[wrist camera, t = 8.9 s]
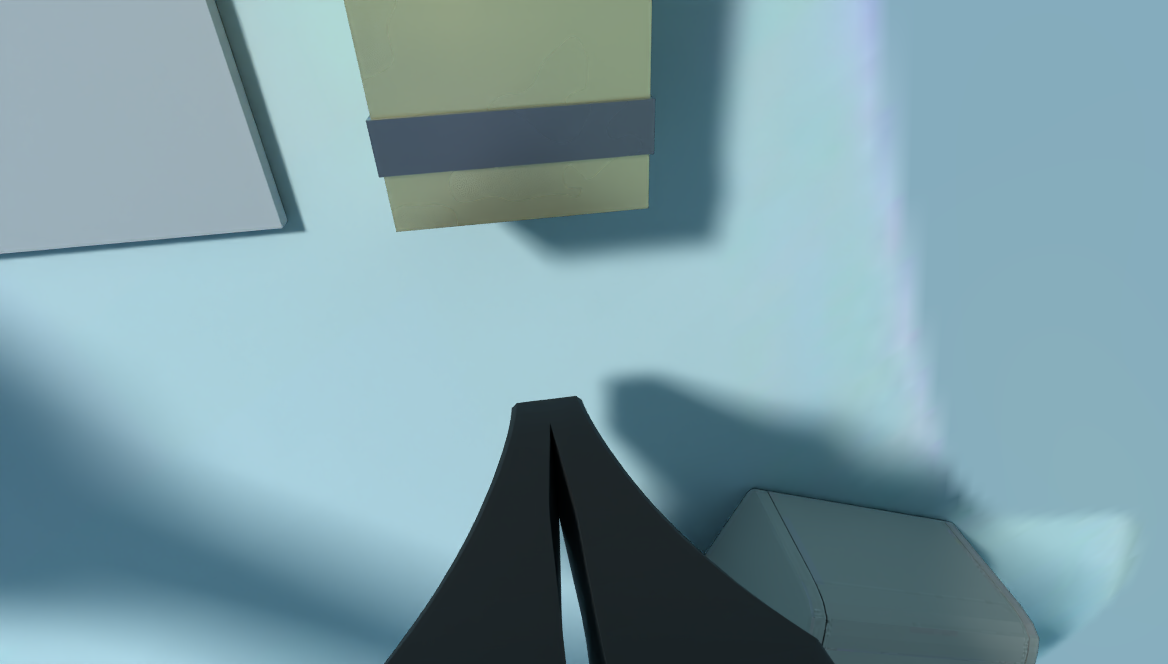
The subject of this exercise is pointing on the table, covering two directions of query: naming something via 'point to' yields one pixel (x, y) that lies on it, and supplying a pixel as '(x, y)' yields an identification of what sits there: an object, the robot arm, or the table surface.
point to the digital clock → (873, 582)
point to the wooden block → (506, 106)
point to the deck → (125, 126)
